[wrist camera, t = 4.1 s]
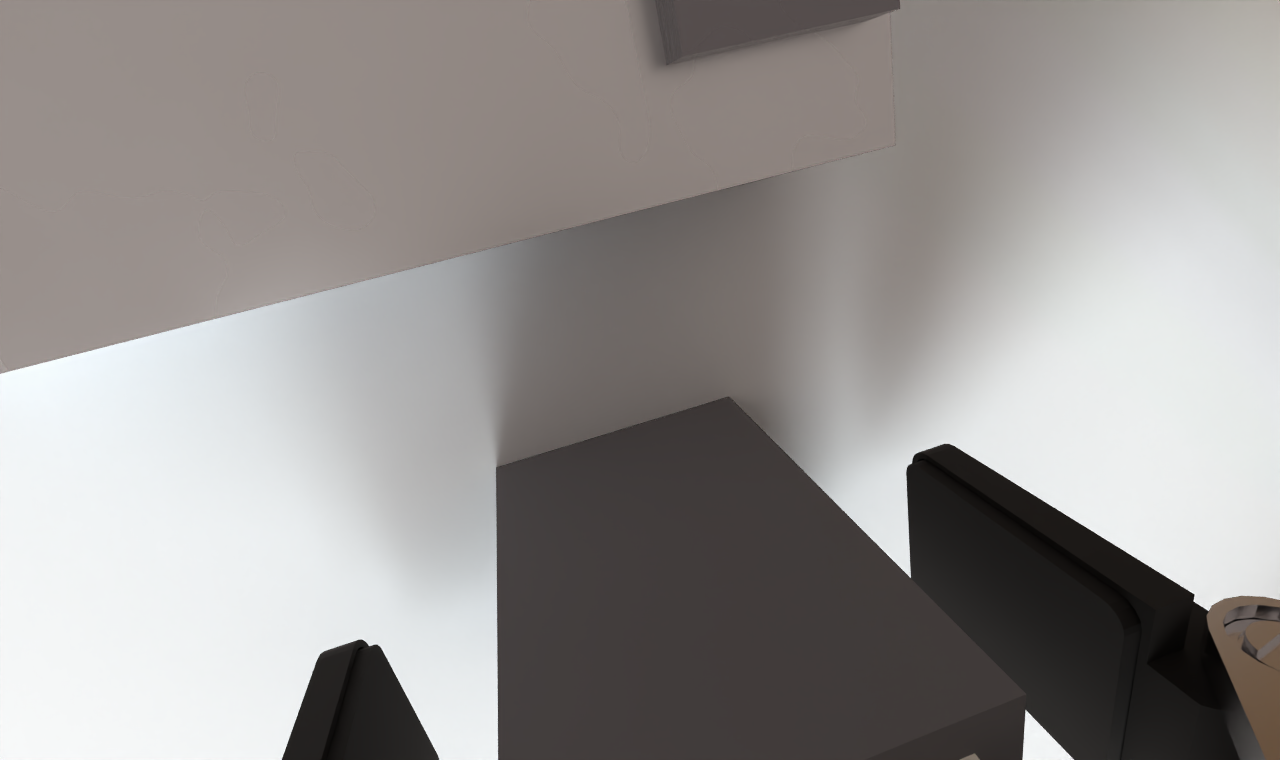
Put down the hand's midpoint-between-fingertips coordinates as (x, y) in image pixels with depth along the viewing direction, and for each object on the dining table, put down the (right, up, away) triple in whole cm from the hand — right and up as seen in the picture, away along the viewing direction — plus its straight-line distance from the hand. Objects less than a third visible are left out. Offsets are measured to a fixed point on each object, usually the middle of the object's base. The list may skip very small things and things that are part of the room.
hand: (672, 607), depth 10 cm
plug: (-1, +1, +2) cm, 2 cm away
